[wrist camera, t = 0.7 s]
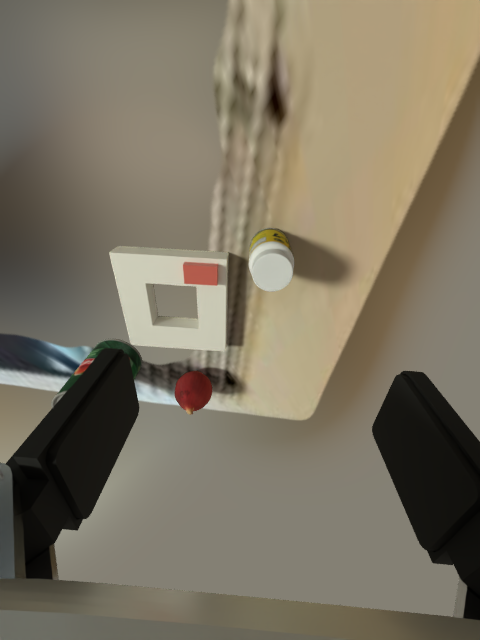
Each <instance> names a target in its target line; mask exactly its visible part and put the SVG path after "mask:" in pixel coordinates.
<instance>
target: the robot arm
mask: <svg viewBox="0 0 480 640" xmlns="http://www.w3.org/2000/svg"><path fill="white" fill-rule="evenodd" d="M138 412H139V403H138V398H137V393H136V388H135V383H134V378H133V373H132V368H131V363H130V358H129V355H128V354H126V353H124V351H123V349H115V348H104V349H103V350H102V351H101V352H100V353H99V354H98V356H97V357H96V358H95V359H94V360H93V362H92V363H91V364H90V365H89V366H88V368H87V369H86V370H85V371H84V372H83V374H82V375H81V376H80V377H79V378H78V379H77V381H76V382H75V383H74V384H73V385H72V386H71V387H70V388H69V389H68V390H67V392H66V393H65V394H64V395H63V396H62V397H61V399H60V400H59V401H58V402H57V403H56V405H55V406H54V407H53V408H52V409H51V411H50V412H49V413H48V414H47V415H46V416H45V418H44V419H43V420H42V421H41V423H40V424H39V425H38V426H37V427H36V429H35V430H34V431H33V432H32V433H31V434H30V435H29V437H28V438H27V439H26V440H25V441H24V443H23V444H22V445H21V446H20V447H19V449H18V450H17V451H16V452H15V453H14V455H13V456H12V457H11V458H10V459H9V460H8V462H7V463H6V464H5V463H0V640H480V442H479V440H478V439H477V438H476V437H475V435H474V434H473V433H472V432H471V430H470V429H469V428H468V427H467V425H466V424H465V423H464V422H463V420H462V419H461V418H460V417H459V416H458V414H457V413H456V412H455V411H454V409H453V408H452V407H451V405H450V404H449V403H448V402H447V400H446V399H445V398H444V397H443V396H442V394H441V393H440V392H439V391H438V389H437V388H436V387H435V386H434V384H433V383H432V382H431V381H430V379H429V378H428V377H427V376H426V375H425V374H424V373H422V372H414V371H403V372H401V374H400V375H397V376H396V377H395V379H394V381H393V383H392V385H391V387H390V389H389V392H388V394H387V396H386V398H385V400H384V402H383V404H382V407H381V409H380V411H379V413H378V415H377V417H376V419H375V422H374V424H373V426H372V432H373V436H374V439H375V441H376V443H377V446H378V448H379V450H380V452H381V455H382V457H383V459H384V462H385V464H386V467H387V469H388V471H389V473H390V476H391V478H392V480H393V483H394V485H395V488H396V490H397V492H398V494H399V497H400V499H401V502H402V504H403V506H404V508H405V511H406V513H407V515H408V518H409V520H410V523H411V525H412V527H413V529H414V532H415V534H416V537H417V539H418V541H419V543H420V545H421V546H422V547H423V548H424V549H425V550H427V551H428V553H429V556H430V558H431V561H432V562H433V563H437V564H447V565H453V564H454V566H455V568H456V570H457V572H458V574H459V583H458V589H457V596H456V602H455V608H454V615H453V617H449V616H438V615H429V614H418V613H409V612H399V611H390V610H379V609H370V608H359V607H350V606H340V605H330V604H320V603H309V602H298V601H289V600H279V599H268V598H258V597H247V596H237V595H226V594H216V593H205V592H194V591H183V590H172V589H161V588H149V587H139V586H128V585H117V584H107V583H91V582H78V581H63V580H59V579H58V570H57V563H56V555H55V548H54V547H55V546H54V543H55V541H56V540H57V538H58V536H59V534H60V532H61V530H62V529H69V530H78V528H79V526H80V524H81V522H82V520H83V519H86V518H88V517H89V515H90V514H91V513H92V511H93V509H94V507H95V504H96V502H97V500H98V498H99V496H100V494H101V492H102V490H103V488H104V485H105V483H106V481H107V479H108V477H109V475H110V473H111V471H112V468H113V467H114V465H115V462H116V460H117V458H118V456H119V454H120V452H121V450H122V448H123V446H124V444H125V441H126V439H127V437H128V435H129V433H130V431H131V429H132V427H133V425H134V423H135V420H136V418H137V416H138Z"/></svg>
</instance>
